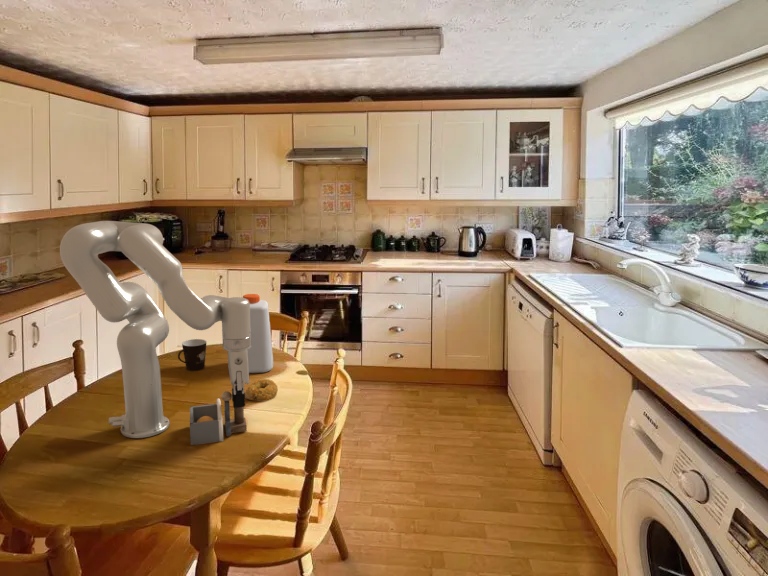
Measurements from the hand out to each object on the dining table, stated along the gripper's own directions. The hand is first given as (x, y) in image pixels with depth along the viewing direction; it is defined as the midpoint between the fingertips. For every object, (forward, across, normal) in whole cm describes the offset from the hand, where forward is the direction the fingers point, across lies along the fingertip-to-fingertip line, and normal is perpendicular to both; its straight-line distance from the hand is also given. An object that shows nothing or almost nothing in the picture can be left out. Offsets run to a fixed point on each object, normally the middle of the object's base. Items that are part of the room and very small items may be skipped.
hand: (238, 403), depth 148 cm
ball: (+5, 0, +9) cm, 11 cm away
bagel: (+8, +22, -9) cm, 25 cm away
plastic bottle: (+8, +50, -9) cm, 51 cm away
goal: (+8, 0, +9) cm, 12 cm away
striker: (+8, 0, +1) cm, 8 cm away
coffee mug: (+8, +54, +13) cm, 56 cm away
